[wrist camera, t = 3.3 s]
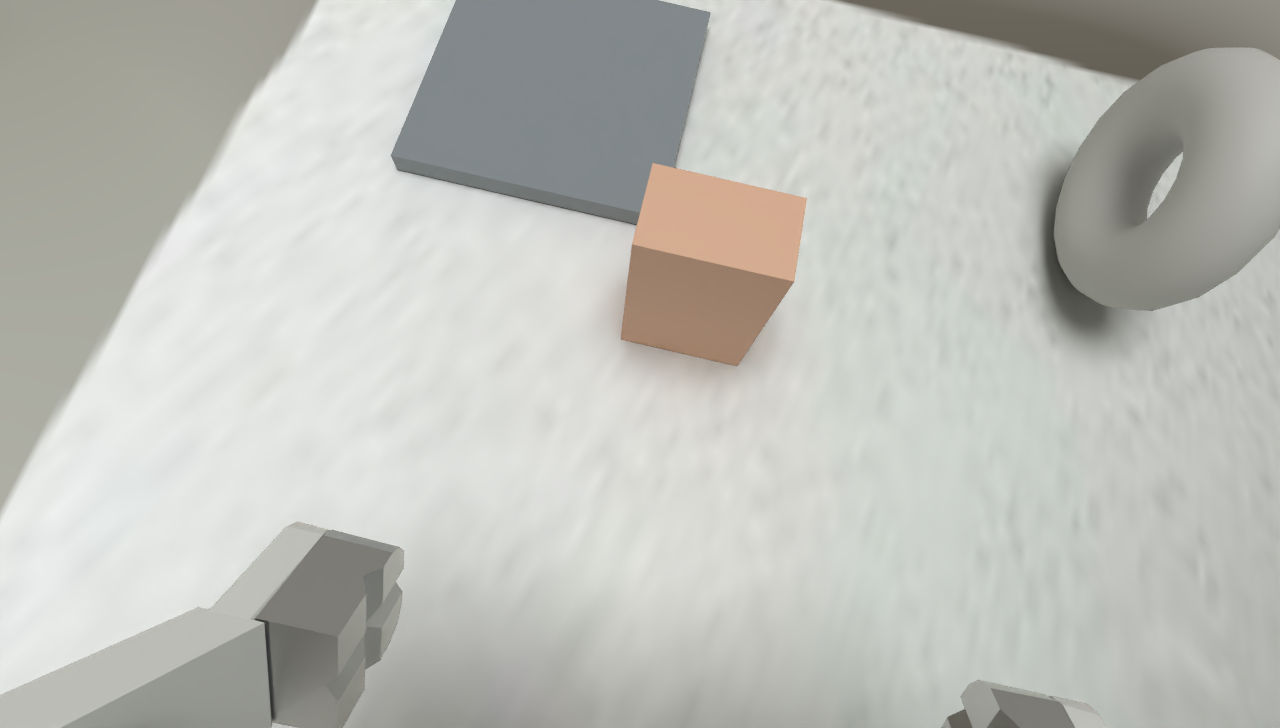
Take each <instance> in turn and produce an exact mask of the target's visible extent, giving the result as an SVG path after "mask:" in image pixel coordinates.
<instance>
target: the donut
mask: <svg viewBox="0 0 1280 728" xmlns="http://www.w3.org/2000/svg"><path fill="white" fill-rule="evenodd" d="M1182 152H1183V159H1182V162H1181V166H1180V169H1179V172H1178V175H1177V178H1176V180H1175V182H1174V184H1173V186H1172V187H1171V189H1170V191H1169V193H1168V194H1167V196H1166V198H1165V200H1164V201H1163V202H1162V203H1161V204H1160V206H1159V207H1158V208H1157V209H1156V210H1155V212H1154V213H1153V214H1152V215H1151V216H1150V217H1149V218H1148V219H1147V208H1148V205H1149V202H1150V199H1151V196H1152V193H1153V190H1154V189H1155V187H1156V185H1157V183H1158V181H1159V179H1160V178H1161V176H1162V174H1163V173H1164V172H1165V170H1166V169H1167V168H1168V167H1169V165H1170V164H1171V163H1172V162H1173V160H1174V159H1175V158H1176V157H1177V156H1178V155H1180V154H1181V153H1182ZM1279 229H1280V60H1279V59H1277V58H1275V57H1273V56H1272V55H1270V54H1268V53H1266V52H1264V51H1261V50H1259V49H1257V48H1208V49H1204V50H1201V51H1197V52H1194V53H1191V54H1189V55H1186V56H1184V57H1182V58H1179V59H1176V60H1174V61H1171V62H1169V63H1166V64H1164V65H1162V66H1160V67H1159V68H1157V69H1156V70H1154V71H1153V72H1151V73H1150V74H1148V75H1147V76H1146V77H1145V78H1143V79H1142V80H1140V81H1139V82H1137V83H1136V84H1135V85H1133V86H1132V87H1131V88H1129V89H1128V90H1127V91H1125V92H1124V93H1123V94H1122V95H1121V96H1120V97H1119V98H1118V99H1117V100H1116V101H1115V102H1114V104H1113V105H1112V106H1111V107H1110V108H1109V109H1108V110H1107V111H1106V112H1105V113H1104V114H1103V115H1102V116H1101V117H1100V118H1099V120H1098V121H1097V123H1096V124H1095V126H1094V127H1093V129H1092V130H1091V132H1090V133H1089V135H1088V136H1087V137H1086V139H1085V140H1084V142H1083V143H1082V145H1081V146H1080V148H1079V150H1078V152H1077V154H1076V156H1075V158H1074V160H1073V162H1072V164H1071V166H1070V168H1069V170H1068V173H1067V175H1066V177H1065V179H1064V183H1063V186H1062V190H1061V193H1060V196H1059V200H1058V203H1057V206H1056V215H1055V225H1054V239H1055V245H1056V251H1057V257H1058V260H1059V263H1060V266H1061V268H1062V269H1063V271H1064V273H1065V274H1066V276H1067V277H1068V279H1069V281H1070V282H1071V284H1072V285H1073V286H1074V287H1075V288H1076V289H1077V290H1078V291H1079V292H1081V293H1082V294H1084V295H1086V296H1087V297H1089V298H1091V299H1092V300H1094V301H1096V302H1097V303H1099V304H1102V305H1104V306H1107V307H1109V308H1118V309H1132V310H1148V311H1153V310H1156V309H1160V308H1164V307H1167V306H1171V305H1174V304H1177V303H1181V302H1184V301H1187V300H1191V299H1194V298H1198V297H1200V296H1201V295H1203V294H1205V293H1206V292H1208V291H1209V290H1211V289H1213V288H1214V287H1216V286H1218V285H1219V284H1221V283H1222V282H1224V281H1226V280H1227V279H1229V278H1230V277H1232V276H1234V275H1235V274H1237V273H1238V272H1239V271H1240V270H1241V269H1242V268H1243V267H1244V266H1245V265H1246V264H1247V263H1248V262H1249V261H1250V260H1251V259H1252V258H1253V257H1254V256H1255V255H1256V254H1257V253H1258V252H1259V251H1260V250H1261V249H1263V248H1264V247H1265V246H1266V245H1267V244H1268V243H1269V242H1270V241H1271V240H1272V239H1273V238H1274V237H1275V235H1276V233H1277V232H1278V230H1279Z"/></svg>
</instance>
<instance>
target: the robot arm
mask: <svg viewBox="0 0 1280 728" xmlns="http://www.w3.org/2000/svg"><path fill="white" fill-rule="evenodd" d="M403 569H404V550H403V549H401V548H400V547H397V546H393V545H389V544H385V543H381V542H377V541H374V540H370V539H366V538H362V537H358V536H354V535H350V534H346V533H343V532H339V531H335V530H328V529H324V528H320V527H316V526H313V525H309V524H305V523H301V522H295V523H293V524H291V525H289V526H287V527H286V528H284V530H283V531H282V532H281V533H280V534H279V535H278V536H277V537H276V538H275V539H274V540H273V541H272V543H271V544H270V545H269V546H268V547H267V548H266V549H265V550H264V551H263V552H262V553H261V555H260V556H259V557H258V558H257V559H256V560H255V561H254V562H253V563H252V564H251V565H250V566H249V568H248V569H247V570H246V571H245V572H244V573H243V574H242V575H241V576H240V577H239V578H238V580H237V581H236V582H235V583H234V584H233V585H232V586H231V587H230V588H229V589H228V590H227V591H226V593H225V594H224V595H223V596H222V597H221V598H220V599H219V600H218V601H217V602H216V603H215V605H214V606H213V607H212V608H211V609H205V608H200V607H198V608H196V609H193V610H191V611H189V612H187V613H184V614H182V615H180V616H178V617H175V618H173V619H171V620H168V621H166V622H164V623H162V624H159V625H157V626H155V627H153V628H150V629H148V630H146V631H144V632H141V633H139V634H137V635H135V636H132V637H130V638H128V639H126V640H123V641H121V642H119V643H117V644H114V645H112V646H110V647H108V648H105V649H103V650H101V651H99V652H96V653H94V654H92V655H90V656H87V657H85V658H83V659H81V660H78V661H76V662H74V663H72V664H69V665H67V666H65V667H63V668H60V669H58V670H56V671H53V672H51V673H49V674H47V675H44V676H42V677H40V678H38V679H35V680H33V681H31V682H29V683H26V684H24V685H22V686H20V687H17V688H15V689H13V690H11V691H8V692H6V693H4V694H2V695H0V728H271V727H272V722H273V723H278V724H283V725H288V726H293V727H298V728H343V726H344V725H345V723H346V721H347V719H348V718H349V716H350V714H351V712H352V710H353V709H354V707H355V705H356V703H357V701H358V700H359V698H360V696H361V694H362V692H363V691H364V683H365V669H367V668H368V667H370V666H372V665H373V664H375V663H377V662H378V661H380V660H381V658H382V656H383V654H384V652H385V650H386V649H387V647H388V645H389V643H390V641H391V638H392V635H393V633H394V630H395V627H396V625H397V622H398V618H399V614H400V609H401V604H402V590H401V589H400V587H399V586H398V585H397V583H396V580H397V579H398V577H399V575H400V574H401V572H402V570H403ZM960 697H961V700H962V703H963V706H964V710H962V711H959V712H957V713H955V714H953V715H951V716H949V717H947V718H946V720H945V722H944V724H943V725H942V727H941V728H1107V727H1106V725H1105V723H1104V722H1103V720H1102V718H1101V717H1100V715H1099V714H1098V713H1097V712H1096V711H1095V710H1094V709H1093V708H1092V707H1091V706H1089V705H1088V704H1085V703H1081V702H1076V701H1072V700H1067V699H1063V698H1058V697H1054V696H1047V695H1044V694H1041V693H1036V692H1031V691H1027V690H1022V689H1018V688H1013V687H1009V686H1004V685H1000V684H995V683H990V682H986V681H981V680H977V681H975V682H973V683H971V684H969V685H968V686H967V688H966V689H965V691H964V692H963V694H962V695H961V696H960Z"/></svg>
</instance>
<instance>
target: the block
mask: <svg viewBox="0 0 1280 728" xmlns="http://www.w3.org/2000/svg"><path fill="white" fill-rule="evenodd" d="M806 200H807V198H803V197H799V196H795V195H790V194H786V193H782V192H777V191H773V190H768V189H764V188H760V187H755V186H751V185H747V184H742V183H738V182H734V181H729V180H725V179H720V178H716V177H712V176H707V175H703V174H699V173H694V172H690V171H686V170H681V169H677V168H673V167H668V166H664V165H659V164H655V163H653V164H652V168H651V172H650V176H649V180H648V184H647V187H646V191H645V195H644V199H643V203H642V207H641V211H640V215H639V219H638V223H637V227H636V231H635V235H634V239H633V243H632V250H631V258H630V266H629V275H628V283H627V291H626V300H625V308H624V316H623V325H622V333H621V340H626V341H630V342H634V343H639V344H643V345H647V346H652V347H656V348H660V349H665V350H669V351H673V352H678V353H682V354H686V355H691V356H695V357H699V358H704V359H708V360H712V361H717V362H721V363H725V364H730V365H734V366H738V364H739V363H740V361H741V360H742V358H743V357H744V355H745V354H746V352H747V351H748V349H749V348H750V346H751V345H752V343H753V342H754V340H755V339H756V337H757V336H758V334H759V333H760V331H761V330H762V329H763V327H764V326H765V324H766V323H767V321H768V320H769V318H770V317H771V315H772V314H773V312H774V311H775V309H776V308H777V306H778V305H779V303H780V302H781V300H782V299H783V297H784V296H785V294H786V293H787V291H788V290H789V288H790V287H791V286H792V284H793V283H794V279H795V273H796V266H797V260H798V253H799V246H800V240H801V233H802V227H803V220H804V214H805V207H806Z"/></svg>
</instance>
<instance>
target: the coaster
mask: <svg viewBox="0 0 1280 728" xmlns="http://www.w3.org/2000/svg"><path fill="white" fill-rule="evenodd" d="M709 17H710V12H707V11H702V10H698V9H694V8H689V7H685V6H680V5H676V4H672V3H667V2H663V1H659V0H456V2H455V4H454V6H453V9H452V11H451V13H450V16H449V18H448V21H447V23H446V25H445V28H444V30H443V33H442V35H441V37H440V40H439V42H438V44H437V47H436V49H435V52H434V54H433V56H432V59H431V61H430V63H429V66H428V68H427V71H426V73H425V75H424V78H423V80H422V83H421V85H420V87H419V90H418V92H417V94H416V97H415V99H414V102H413V104H412V106H411V109H410V111H409V114H408V116H407V118H406V121H405V123H404V125H403V128H402V130H401V133H400V135H399V137H398V140H397V142H396V144H395V147H394V149H393V152H392V154H391V157H392V159H393V161H394V163H395V165H396V167H397V170H401V171H406V172H410V173H415V174H419V175H423V176H428V177H432V178H436V179H441V180H445V181H449V182H454V183H458V184H462V185H467V186H471V187H475V188H480V189H484V190H488V191H493V192H497V193H501V194H506V195H510V196H514V197H519V198H523V199H528V200H532V201H536V202H541V203H545V204H549V205H554V206H558V207H562V208H567V209H571V210H575V211H580V212H584V213H588V214H593V215H597V216H601V217H606V218H610V219H614V220H619V221H623V222H628V223H632V224H636V225H637V223H638V219H639V215H640V211H641V207H642V203H643V199H644V195H645V191H646V187H647V184H648V180H649V176H650V172H651V168H652V164H653V163H655V164H659V165H664V166H668V167H673V168H674V165H675V161H676V157H677V153H678V149H679V144H680V140H681V136H682V132H683V128H684V123H685V119H686V115H687V111H688V107H689V103H690V98H691V94H692V90H693V86H694V82H695V77H696V73H697V69H698V65H699V61H700V56H701V52H702V48H703V44H704V40H705V35H706V31H707V27H708V22H709Z"/></svg>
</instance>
